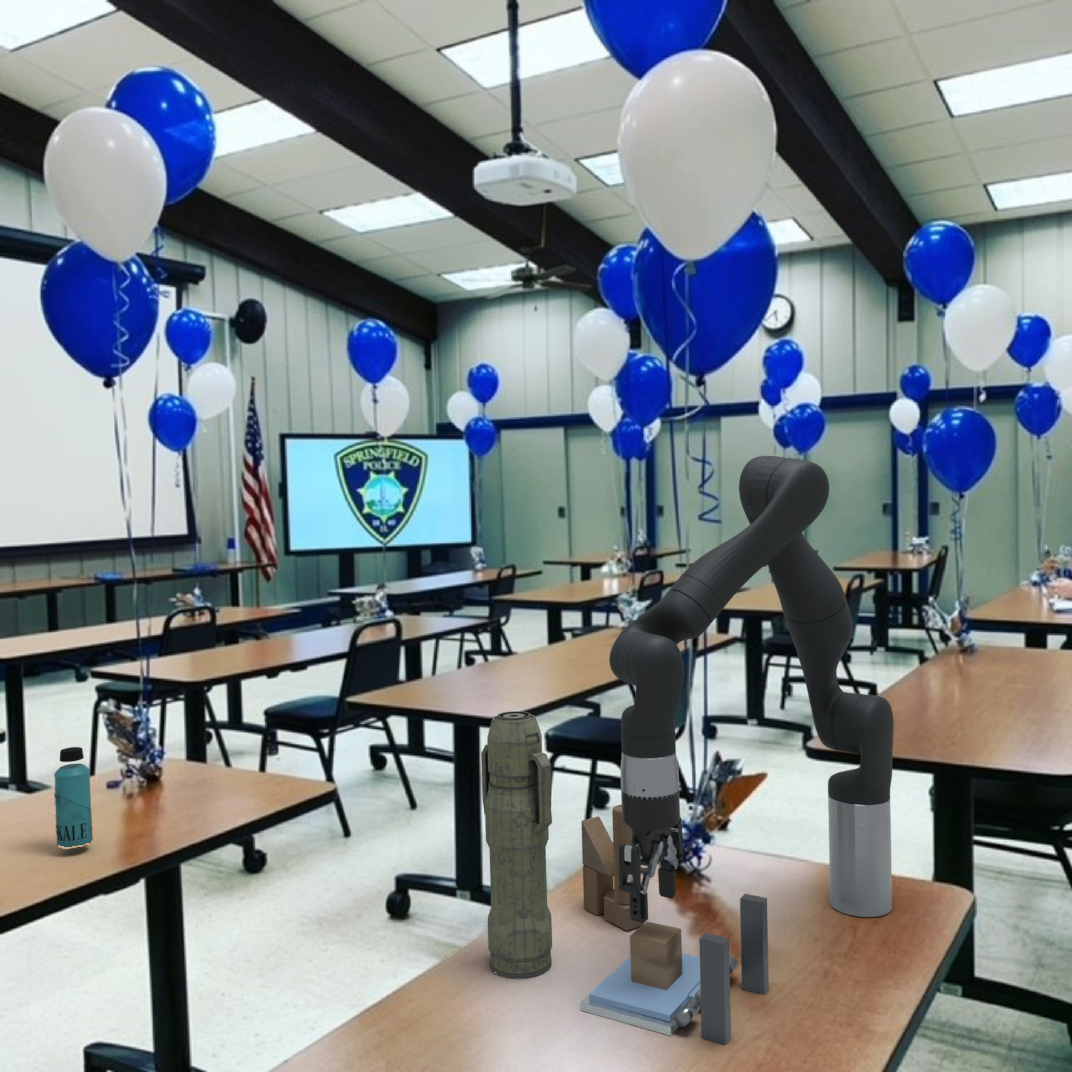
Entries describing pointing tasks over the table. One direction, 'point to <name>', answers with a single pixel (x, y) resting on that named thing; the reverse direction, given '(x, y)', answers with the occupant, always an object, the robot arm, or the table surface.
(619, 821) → the wooden block
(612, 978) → the pale blue flat slab
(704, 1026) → the base leaf
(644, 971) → the block
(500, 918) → the thermos
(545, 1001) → the table surface
